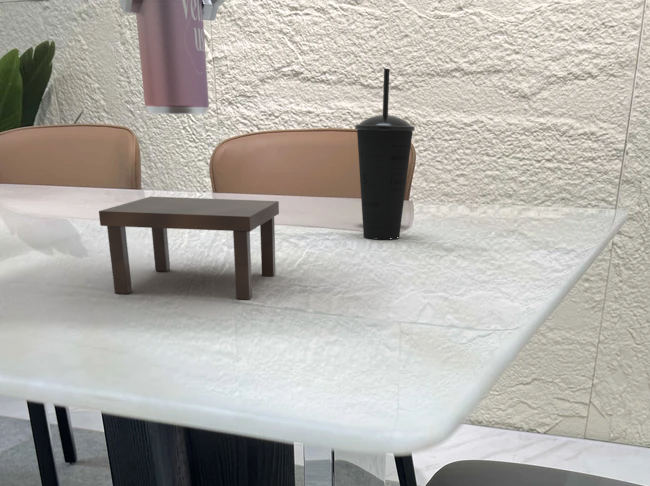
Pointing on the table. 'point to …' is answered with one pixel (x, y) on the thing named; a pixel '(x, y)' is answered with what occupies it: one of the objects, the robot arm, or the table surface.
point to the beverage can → (173, 56)
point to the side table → (192, 216)
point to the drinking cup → (383, 169)
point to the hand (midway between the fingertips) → (166, 11)
